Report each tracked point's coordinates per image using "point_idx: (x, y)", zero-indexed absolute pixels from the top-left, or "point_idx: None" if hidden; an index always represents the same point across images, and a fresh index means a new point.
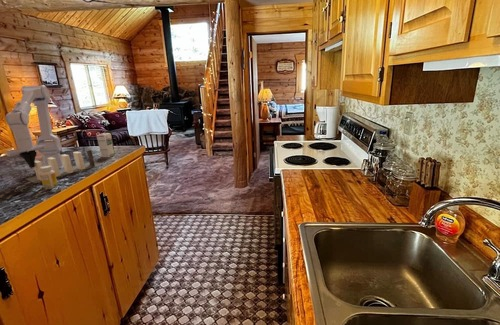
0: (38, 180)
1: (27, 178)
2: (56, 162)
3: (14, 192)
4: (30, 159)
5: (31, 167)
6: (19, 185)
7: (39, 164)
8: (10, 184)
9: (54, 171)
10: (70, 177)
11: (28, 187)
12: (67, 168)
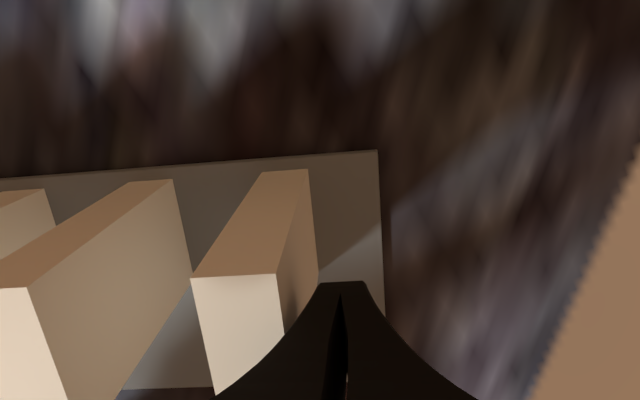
0: (325, 216)
1: None
2: (18, 252)
3: (601, 39)
4: (351, 357)
5: (361, 281)
6: (476, 250)
7: (246, 252)
8: (506, 354)
9: (143, 200)
10: (58, 37)
11: (455, 90)
12: (7, 221)
